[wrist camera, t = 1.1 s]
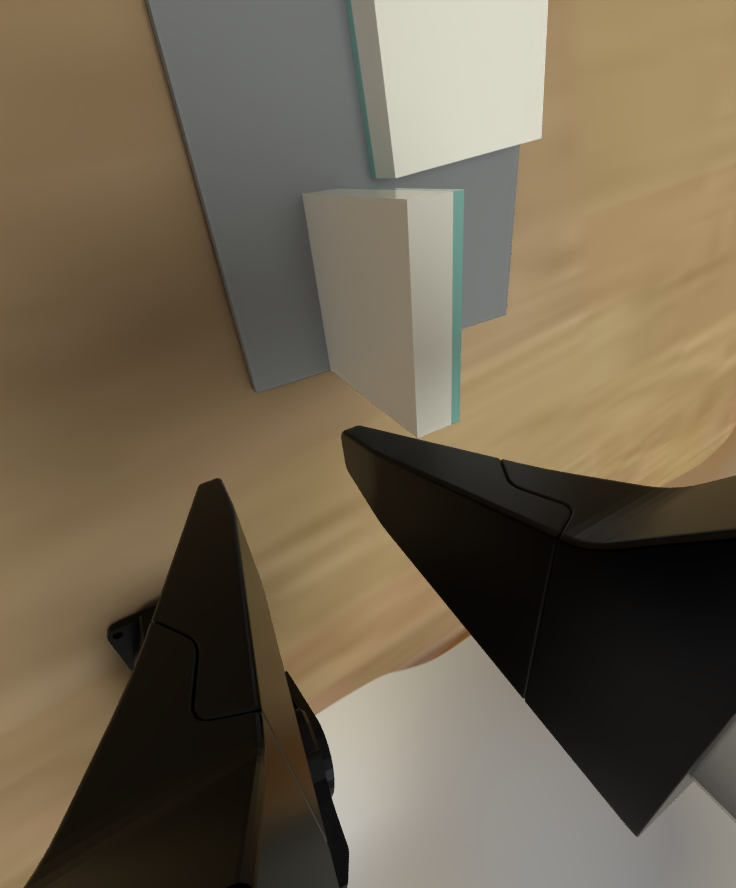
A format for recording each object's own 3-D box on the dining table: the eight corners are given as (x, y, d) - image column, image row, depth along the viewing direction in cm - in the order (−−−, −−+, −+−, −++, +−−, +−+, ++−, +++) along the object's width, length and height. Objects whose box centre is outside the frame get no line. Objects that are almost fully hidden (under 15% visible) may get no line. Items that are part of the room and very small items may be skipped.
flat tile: (509, 141, 22) (541, 138, 20) (371, 178, 19) (395, 178, 18) (513, -107, 17) (554, -135, 15) (330, -99, 14) (358, -131, 13)
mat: (499, 312, 27) (506, 314, 27) (253, 389, 22) (256, 393, 21) (525, -66, 18) (536, -72, 18) (116, -102, 13) (117, -113, 12)
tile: (364, 359, 23) (459, 421, 17) (330, 370, 23) (417, 438, 16) (344, 187, 19) (464, 189, 13) (301, 193, 18) (407, 199, 12)
